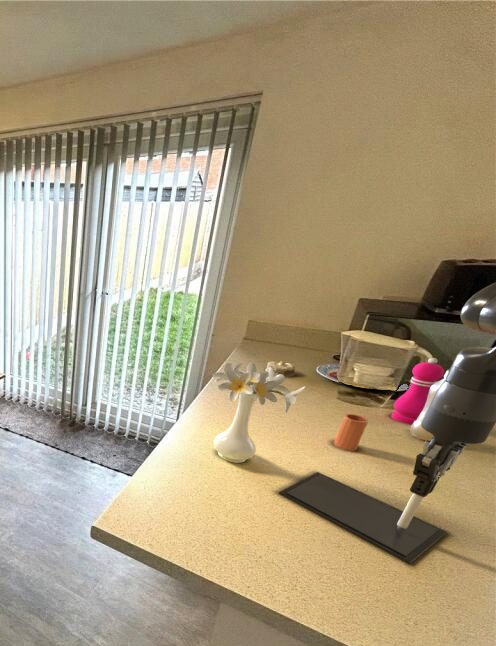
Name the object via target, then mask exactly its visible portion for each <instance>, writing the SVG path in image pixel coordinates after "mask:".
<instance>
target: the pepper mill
mask: <svg viewBox="0 0 496 646" xmlns="http://www.w3.org/2000/svg"><path fill="white" fill-rule="evenodd" d="M437 363H438V359H437V358H435V357H431V358H429V359H428V360H427V362H425V361H424V362H420V363H417V364H416V365H414V367H413V368H412V371H411V372H412V374H413V376H412V377H411V379H410V380H409V382H410V385H411V386H410V388H409V389H407V390H406V391H405V392H404V394H402V395H400V397H398V398H397V399H396V400H395V402H394V403H393V408H394V411H392V414H391V418H392V419H393V420H395V421H397V422H400V423H403V424H406V425H412V424H413V423H414V421H415V420H416V419H417V418H418V416H419V415H420V413H421V412H422V410H423V408H424V406H425V404H426V401H427V398H428V394H429V391H430V387H431V386H432V385H433V384H434V383H436V382H437V381H439V380H441V379H442V378H443V377H444V374H445V369H444V368H443V366H441V365H440V364H437Z"/></svg>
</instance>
